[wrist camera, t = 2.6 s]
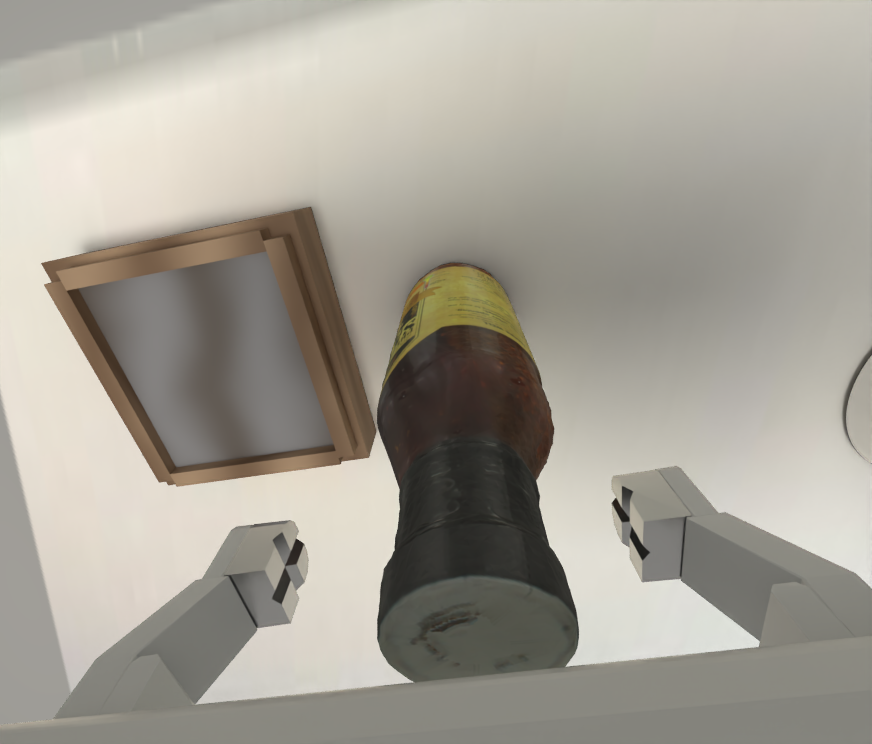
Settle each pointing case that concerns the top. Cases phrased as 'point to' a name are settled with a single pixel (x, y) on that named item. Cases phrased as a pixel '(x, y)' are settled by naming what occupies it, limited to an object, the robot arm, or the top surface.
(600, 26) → the top surface
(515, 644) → the sauce bottle
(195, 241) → the tray
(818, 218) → the top surface
